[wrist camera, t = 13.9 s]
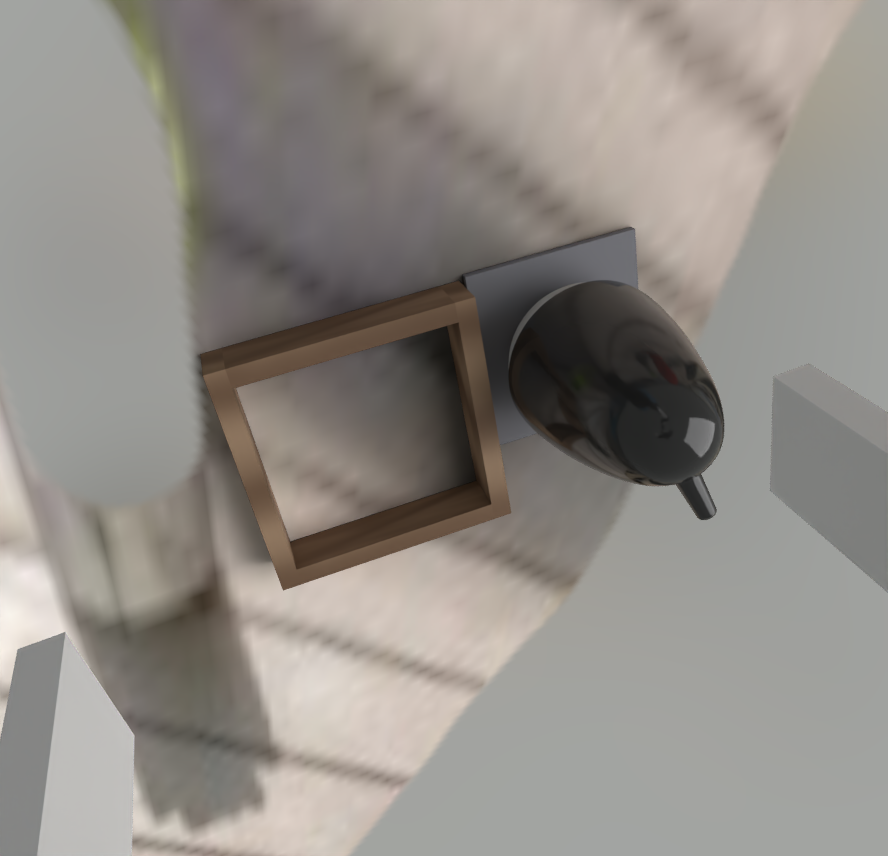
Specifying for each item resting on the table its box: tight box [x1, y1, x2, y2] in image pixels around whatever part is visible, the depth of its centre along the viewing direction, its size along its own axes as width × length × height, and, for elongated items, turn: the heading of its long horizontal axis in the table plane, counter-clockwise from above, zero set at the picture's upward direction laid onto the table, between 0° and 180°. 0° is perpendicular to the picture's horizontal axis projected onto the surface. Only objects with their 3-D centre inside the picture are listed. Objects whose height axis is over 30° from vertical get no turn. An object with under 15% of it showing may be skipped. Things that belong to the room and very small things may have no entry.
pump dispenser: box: [508, 280, 724, 520], centre depth 45 cm, size 10×10×15 cm
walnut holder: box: [200, 281, 511, 590], centre depth 49 cm, size 15×15×3 cm
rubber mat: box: [463, 227, 638, 445], centre depth 52 cm, size 12×11×1 cm
